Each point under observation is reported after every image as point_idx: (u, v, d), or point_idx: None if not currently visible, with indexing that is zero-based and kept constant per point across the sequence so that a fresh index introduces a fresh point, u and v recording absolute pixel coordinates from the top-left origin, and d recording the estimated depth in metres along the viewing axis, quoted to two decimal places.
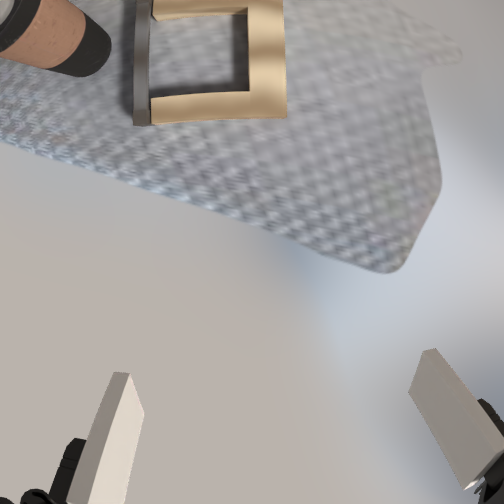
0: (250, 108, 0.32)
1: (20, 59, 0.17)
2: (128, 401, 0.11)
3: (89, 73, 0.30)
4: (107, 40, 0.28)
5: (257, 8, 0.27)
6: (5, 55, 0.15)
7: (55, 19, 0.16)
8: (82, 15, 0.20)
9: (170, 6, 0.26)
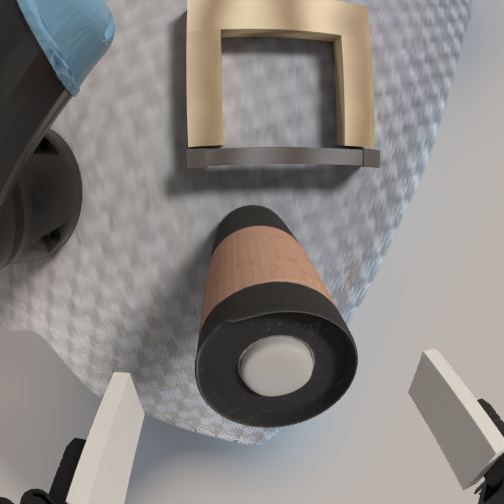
0: (361, 38, 0.23)
1: None
2: (128, 401, 0.11)
3: None
4: (248, 208, 0.29)
5: (223, 19, 0.22)
6: None
7: (287, 257, 0.17)
8: (241, 231, 0.22)
9: (212, 122, 0.25)
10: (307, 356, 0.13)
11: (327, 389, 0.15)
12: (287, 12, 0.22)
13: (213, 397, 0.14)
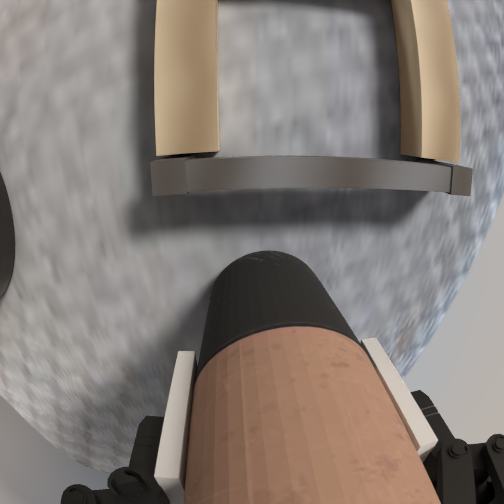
0: None
1: None
2: (195, 377, 0.12)
3: None
4: (262, 259, 0.17)
5: None
6: None
7: (377, 465, 0.05)
8: (256, 343, 0.10)
9: (199, 109, 0.14)
10: None
11: None
12: None
13: None
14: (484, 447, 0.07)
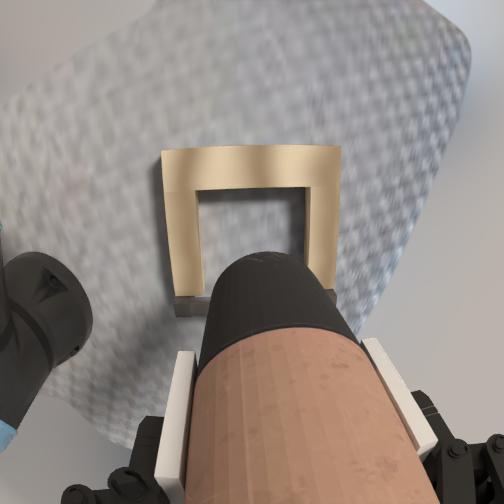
0: (331, 186, 0.29)
1: None
2: (195, 377, 0.12)
3: None
4: (262, 260, 0.17)
5: (196, 179, 0.28)
6: None
7: (377, 466, 0.05)
8: (256, 344, 0.10)
9: (193, 277, 0.32)
10: None
11: None
12: (258, 167, 0.28)
13: None
14: (484, 447, 0.07)
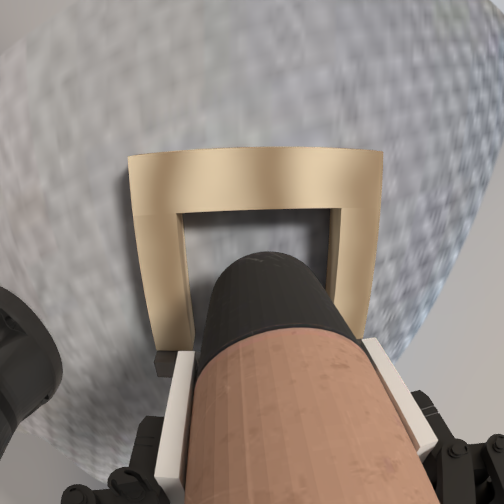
0: (368, 207, 0.21)
1: None
2: (195, 377, 0.12)
3: None
4: (262, 260, 0.17)
5: (178, 196, 0.20)
6: None
7: (377, 466, 0.05)
8: (256, 345, 0.10)
9: (178, 329, 0.23)
10: None
11: None
12: (268, 179, 0.20)
13: None
14: (484, 447, 0.07)
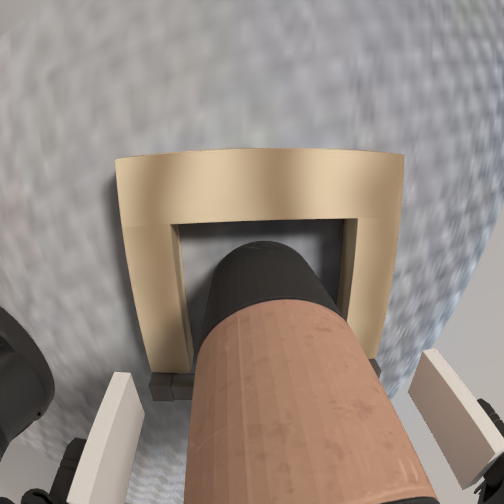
0: (387, 218, 0.18)
1: None
2: (129, 401, 0.11)
3: None
4: (258, 248, 0.19)
5: (173, 205, 0.17)
6: None
7: (353, 406, 0.07)
8: (252, 313, 0.12)
9: (175, 350, 0.20)
10: None
11: None
12: (275, 186, 0.17)
13: None
14: None
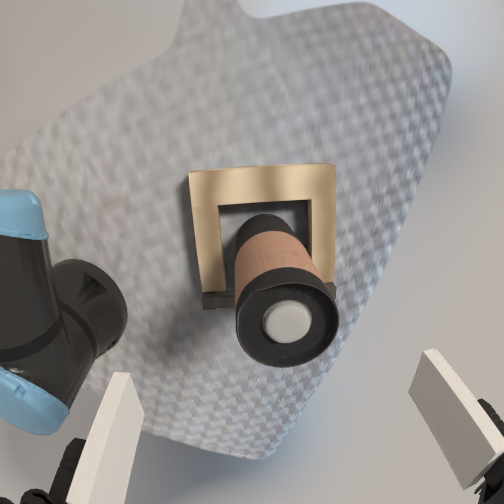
0: (328, 198, 0.36)
1: None
2: (128, 401, 0.11)
3: None
4: (261, 216, 0.37)
5: (218, 195, 0.35)
6: None
7: (292, 252, 0.25)
8: (258, 235, 0.30)
9: (217, 276, 0.39)
10: (306, 313, 0.22)
11: (321, 339, 0.23)
12: (268, 185, 0.35)
13: (246, 345, 0.22)
14: None
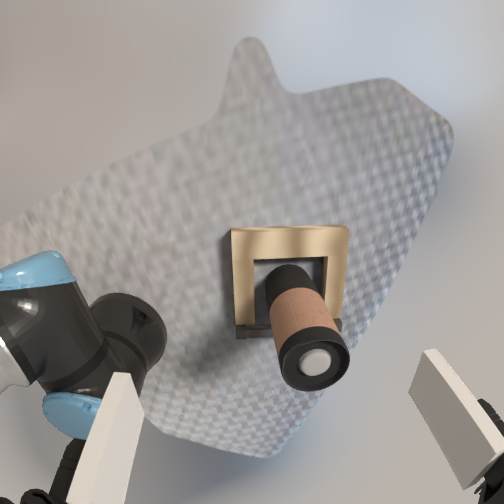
0: (341, 255, 0.45)
1: None
2: (128, 401, 0.11)
3: None
4: (287, 268, 0.47)
5: (255, 252, 0.44)
6: None
7: (318, 311, 0.35)
8: (290, 291, 0.39)
9: (249, 313, 0.48)
10: (328, 357, 0.31)
11: (336, 372, 0.32)
12: (295, 244, 0.44)
13: (286, 377, 0.32)
14: None
